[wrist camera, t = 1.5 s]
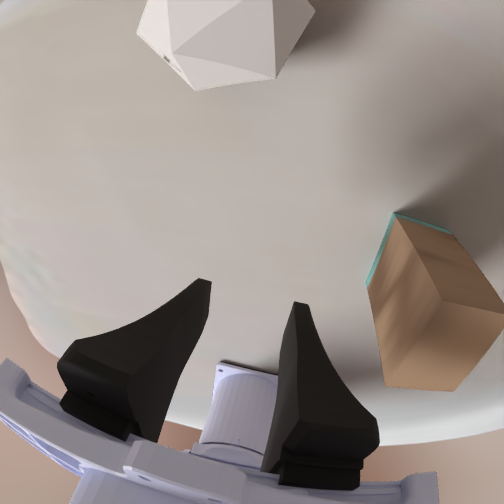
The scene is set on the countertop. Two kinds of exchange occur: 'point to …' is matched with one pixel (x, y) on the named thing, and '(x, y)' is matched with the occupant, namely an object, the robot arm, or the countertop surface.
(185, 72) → the die
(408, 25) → the countertop surface
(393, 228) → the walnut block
